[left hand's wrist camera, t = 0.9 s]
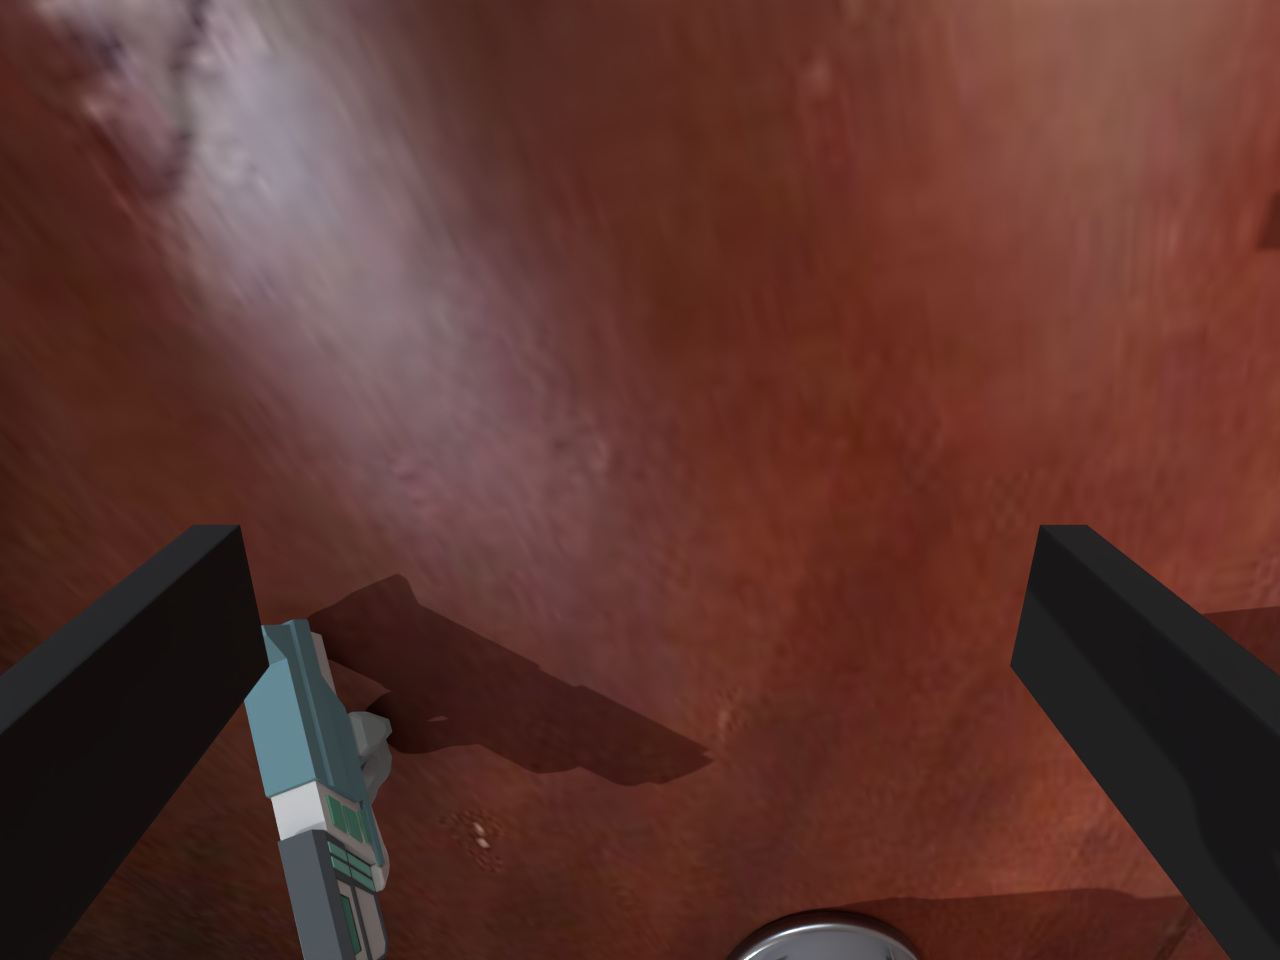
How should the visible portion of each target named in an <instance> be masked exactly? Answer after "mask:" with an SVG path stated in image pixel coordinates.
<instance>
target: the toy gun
mask: <svg viewBox="0 0 1280 960" xmlns="http://www.w3.org/2000/svg"><path fill="white" fill-rule="evenodd" d="M261 627H262V632H263V637H264V641H265V646H266V651H267V656H268V660H269V665H270V666H269V668H268V669H267V670H266V672H265V673H264V674H263V676H262V677H261V678H260V680H259V681H258V682H257V684H256V685H255V686H254V688H253V689H252V690H251V692H250V693H249V694H248V696H247V697H246V698H245V700H244V701H245V706H246V710H247V715H248V719H249V723H250V728H251V732H252V737H253V741H254V745H255V750H256V754H257V759H258V763H259V768H260V772H261V776H262V781H263V785H264V790H265V794H266V797H268V798H270V799H272V803H273V808H274V812H275V817H276V821H277V825H278V830H279V834H280V839H281V841H278V846H279V850H280V854H281V859H282V863H283V868H284V872H285V876H286V881H287V885H288V890H289V894H290V899H291V903H292V907H293V912H294V916H295V921H296V925H297V929H298V934H299V938H300V943H301V947H302V951H303V956H304V960H382V959H383V958H385V957H386V956H387V950H388V937H387V933H386V929H385V925H384V921H383V917H382V913H381V909H380V905H379V901H378V897H377V894H376V892H378V891H381V890H383V889H384V888H385V885H386V881H387V878H388V873H389V867H390V865H389V858H388V853H387V850H386V848H385V845H384V843H383V840H382V837H381V834H380V831H379V828H378V825H377V822H376V819H375V816H374V813H373V810H372V807H371V805H372V803H373V801H374V800H375V798H376V794H377V791H378V788H379V787H380V785H381V784H382V783H383V782H384V781H385V780H386V779H387V777H388V776H389V774H390V772H391V764H392V755H391V753H390V751H389V747H388V744H387V741H386V739H387V737H388V736H389V735H390V734H391V733H392V729H391V725H390V721H389V719H387V718H384V717H381V716H378V715H375V714H372V713H369V712H351V713H348V714H347V713H346V709H345V707H344V706H343V704H342V703H341V702H340V700H339V699H338V697H337V694H336V690H335V686H334V683H333V679H332V675H331V671H330V667H329V663H328V659H327V655H326V651H325V647H324V643H323V640H322V636H321V635H320V634H317V633H313V632H311V631H310V627H309V623H308V619H297V620H291V621H288V622H286V623H284V624H281V625H263V626H261Z"/></svg>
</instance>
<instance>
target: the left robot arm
mask: <svg viewBox="0 0 1280 960" xmlns="http://www.w3.org/2000/svg"><path fill="white" fill-rule="evenodd" d="M269 666H270V665H269V660H268V656H267V651H266V646H265V641H264V637H263V632H262V627H261V623H260V618H259V613H258V608H257V604H256V599H255V594H254V589H253V585H252V580H251V575H250V571H249V566H248V561H247V556H246V552H245V547H244V542H243V538H242V533H241V528H240V525H192V526H191V527H190V528H189V529H187V530H186V531H185V532H184V533H182V534H181V535H180V536H178V537H177V538H176V539H175V540H173V541H172V542H171V543H170V544H168V545H167V546H166V547H164V548H163V549H162V550H161V551H159V552H158V553H157V554H155V555H154V556H153V557H152V558H150V559H149V560H148V561H147V562H145V563H144V564H143V565H141V566H140V567H139V568H138V569H136V570H135V571H134V572H133V573H131V574H130V575H129V576H127V577H126V578H125V579H124V580H122V581H121V582H120V583H119V584H117V585H116V586H115V587H113V588H112V589H111V590H110V591H108V592H107V593H106V594H104V595H103V596H102V597H101V598H99V599H98V600H97V601H96V602H94V603H93V604H92V605H90V606H89V607H88V608H87V609H85V610H84V611H83V612H82V613H80V614H79V615H78V616H76V617H75V618H74V619H73V620H71V621H70V622H69V623H67V624H66V625H65V626H64V627H62V628H61V629H60V630H59V631H57V632H56V633H55V634H53V635H52V636H51V637H50V638H48V639H47V640H46V641H45V642H43V643H42V644H41V645H39V646H38V647H37V648H36V649H34V650H33V651H32V652H31V653H29V654H28V655H27V656H25V657H24V658H23V659H22V660H20V661H19V662H18V663H16V664H15V665H14V666H13V667H11V668H10V669H9V670H8V671H6V672H5V673H4V674H2V675H1V676H0V960H49V959H50V957H51V956H52V955H53V953H54V952H55V951H56V949H57V948H58V947H59V945H60V944H61V943H62V941H63V940H64V939H65V937H66V936H67V935H68V933H69V932H70V931H71V929H72V928H73V927H74V925H75V924H76V923H77V921H78V920H79V919H80V917H81V916H82V915H83V913H84V912H85V911H86V909H87V908H88V907H89V905H90V904H91V903H92V902H93V900H94V899H95V898H96V896H97V895H98V894H99V892H100V891H101V890H102V888H103V887H104V886H105V884H106V883H107V882H108V880H109V879H110V878H111V876H112V875H113V874H114V872H115V871H116V870H117V868H118V867H119V866H120V864H121V863H122V862H123V860H124V859H125V858H126V856H127V855H128V854H129V852H130V851H131V850H132V848H133V847H134V846H135V844H136V843H137V842H138V840H139V839H140V838H141V836H142V835H143V834H144V832H145V831H146V830H147V828H148V827H149V826H150V824H151V823H152V822H153V821H154V819H155V818H156V817H157V815H158V814H159V813H160V811H161V810H162V809H163V807H164V806H165V805H166V803H167V802H168V801H169V799H170V798H171V797H172V795H173V794H174V793H175V791H176V790H177V789H178V787H179V786H180V785H181V783H182V782H183V781H184V779H185V778H186V777H187V775H188V774H189V773H190V771H191V770H192V769H193V767H194V766H195V765H196V763H197V762H198V761H199V759H200V758H201V757H202V755H203V754H204V753H205V751H206V750H207V749H208V747H209V746H210V745H211V744H212V742H213V741H214V740H215V738H216V737H217V736H218V734H219V733H220V732H221V730H222V729H223V728H224V726H225V725H226V724H227V722H228V721H229V720H230V718H231V717H232V716H233V714H234V713H235V712H236V710H237V709H238V708H239V706H240V705H241V704H242V702H243V701H244V700H245V698H246V697H247V696H248V694H249V693H250V692H251V690H252V689H253V688H254V686H255V685H256V684H257V682H258V681H259V680H260V678H261V677H262V676H263V674H264V673H265V672H266V670H267V669H268V668H269ZM1010 666H1011V668H1012V669H1013V670H1014V672H1015V673H1016V674H1017V676H1018V677H1019V678H1020V680H1021V681H1022V682H1023V684H1024V685H1025V686H1026V688H1027V689H1028V690H1029V692H1030V693H1031V694H1032V696H1033V697H1034V698H1035V700H1036V701H1037V702H1038V704H1039V705H1040V706H1041V708H1042V709H1043V710H1044V712H1045V713H1046V714H1047V716H1048V717H1049V718H1050V720H1051V721H1052V722H1053V724H1054V725H1055V726H1056V728H1057V729H1058V730H1059V732H1060V733H1061V734H1062V736H1063V737H1064V738H1065V740H1066V741H1067V742H1068V744H1069V745H1070V746H1071V747H1072V749H1073V750H1074V751H1075V753H1076V754H1077V755H1078V757H1079V758H1080V759H1081V761H1082V762H1083V763H1084V765H1085V766H1086V767H1087V769H1088V770H1089V771H1090V773H1091V774H1092V775H1093V777H1094V778H1095V779H1096V781H1097V782H1098V783H1099V785H1100V786H1101V787H1102V789H1103V790H1104V791H1105V793H1106V794H1107V795H1108V797H1109V798H1110V799H1111V801H1112V802H1113V803H1114V805H1115V806H1116V807H1117V809H1118V810H1119V811H1120V813H1121V814H1122V815H1123V817H1124V818H1125V819H1126V821H1127V822H1128V823H1129V824H1130V826H1131V827H1132V828H1133V830H1134V831H1135V832H1136V834H1137V835H1138V836H1139V838H1140V839H1141V840H1142V842H1143V843H1144V844H1145V846H1146V847H1147V848H1148V850H1149V851H1150V852H1151V854H1152V855H1153V856H1154V858H1155V859H1156V860H1157V862H1158V863H1159V864H1160V866H1161V867H1162V868H1163V870H1164V871H1165V872H1166V874H1167V875H1168V876H1169V878H1170V879H1171V880H1172V882H1173V883H1174V884H1175V886H1176V887H1177V888H1178V890H1179V891H1180V892H1181V894H1182V895H1183V896H1184V898H1185V899H1186V900H1187V902H1188V903H1189V904H1190V905H1191V907H1192V908H1193V909H1194V911H1195V912H1196V913H1197V915H1198V916H1199V917H1200V919H1201V920H1202V921H1203V923H1204V924H1205V925H1206V927H1207V928H1208V929H1209V931H1210V932H1211V933H1212V935H1213V936H1214V937H1215V939H1216V940H1217V941H1218V943H1219V944H1220V945H1221V947H1222V948H1223V949H1224V951H1225V952H1226V953H1227V955H1228V956H1229V957H1230V959H1231V960H1280V676H1279V675H1278V674H1276V673H1275V672H1274V671H1272V670H1271V669H1270V668H1269V667H1267V666H1266V665H1265V664H1264V663H1262V662H1261V661H1260V660H1258V659H1257V658H1256V657H1255V656H1253V655H1252V654H1251V653H1249V652H1248V651H1247V650H1246V649H1244V648H1243V647H1242V646H1241V645H1239V644H1238V643H1237V642H1235V641H1234V640H1233V639H1232V638H1230V637H1229V636H1228V635H1227V634H1225V633H1224V632H1223V631H1221V630H1220V629H1219V628H1218V627H1216V626H1215V625H1214V624H1213V623H1211V622H1210V621H1209V620H1207V619H1206V618H1205V617H1204V616H1202V615H1201V614H1200V613H1198V612H1197V611H1196V610H1195V609H1193V608H1192V607H1191V606H1190V605H1188V604H1187V603H1186V602H1184V601H1183V600H1182V599H1181V598H1179V597H1178V596H1177V595H1176V594H1174V593H1173V592H1172V591H1170V590H1169V589H1168V588H1167V587H1165V586H1164V585H1163V584H1161V583H1160V582H1159V581H1158V580H1156V579H1155V578H1154V577H1153V576H1151V575H1150V574H1149V573H1147V572H1146V571H1145V570H1144V569H1142V568H1141V567H1140V566H1139V565H1137V564H1136V563H1135V562H1133V561H1132V560H1131V559H1130V558H1128V557H1127V556H1126V555H1125V554H1123V553H1122V552H1121V551H1119V550H1118V549H1117V548H1116V547H1114V546H1113V545H1112V544H1110V543H1109V542H1108V541H1107V540H1105V539H1104V538H1103V537H1102V536H1100V535H1099V534H1098V533H1096V532H1095V531H1094V530H1093V529H1091V528H1090V527H1089V526H1088V525H1040V528H1039V533H1038V538H1037V542H1036V547H1035V552H1034V556H1033V561H1032V566H1031V571H1030V575H1029V580H1028V585H1027V589H1026V594H1025V599H1024V604H1023V608H1022V613H1021V618H1020V623H1019V627H1018V632H1017V637H1016V641H1015V646H1014V651H1013V656H1012V660H1011V665H1010ZM726 960H921V958H920V956H919V954H918V952H917V950H916V949H915V947H914V946H913V945H912V943H911V942H910V941H909V940H908V939H907V938H906V937H905V936H904V935H902V934H901V933H900V932H898V931H897V930H896V929H894V928H892V927H891V926H889V925H887V924H885V923H883V922H880V921H878V920H875V919H872V918H869V917H866V916H862V915H857V914H852V913H843V912H816V913H807V914H801V915H796V916H792V917H788V918H785V919H782V920H779V921H776V922H774V923H772V924H769V925H767V926H765V927H763V928H761V929H759V930H758V931H756V932H754V933H753V934H751V935H750V936H748V937H747V938H746V939H744V940H743V941H742V942H741V943H740V944H739V945H738V946H737V947H736V948H735V949H734V950H733V951H732V952H731V953H730V955H729V956H728V958H727V959H726Z"/></svg>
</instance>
